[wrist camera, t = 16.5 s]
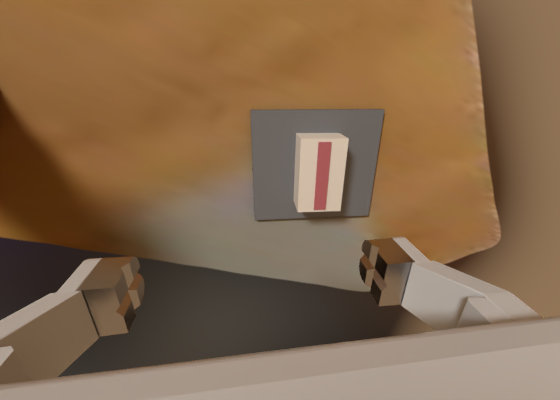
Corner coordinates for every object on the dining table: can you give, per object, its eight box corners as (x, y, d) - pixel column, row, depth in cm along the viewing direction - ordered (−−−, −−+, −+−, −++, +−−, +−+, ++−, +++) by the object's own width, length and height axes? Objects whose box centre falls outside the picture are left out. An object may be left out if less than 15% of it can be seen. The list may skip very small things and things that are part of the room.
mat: (254, 217, 42) (254, 220, 41) (250, 109, 35) (250, 110, 35) (366, 213, 43) (368, 215, 43) (382, 109, 37) (384, 109, 36)
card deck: (296, 132, 36) (301, 139, 33) (339, 132, 37) (349, 138, 33) (293, 200, 40) (297, 212, 37) (332, 199, 41) (340, 211, 37)
